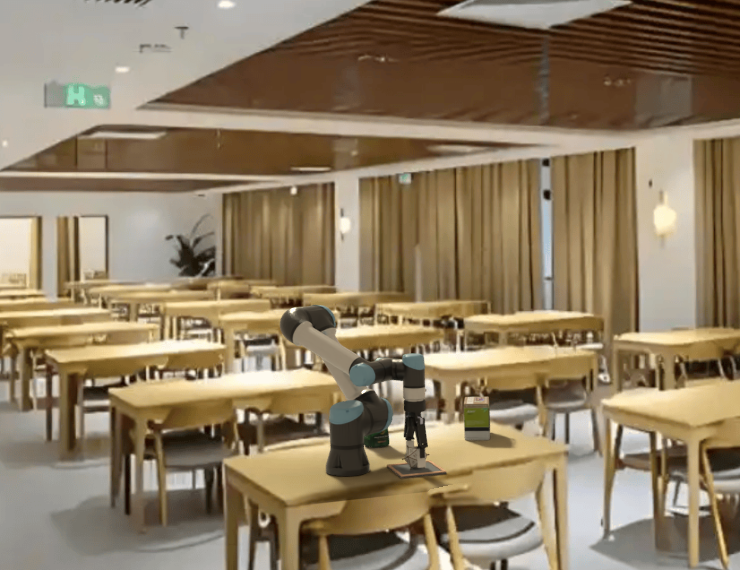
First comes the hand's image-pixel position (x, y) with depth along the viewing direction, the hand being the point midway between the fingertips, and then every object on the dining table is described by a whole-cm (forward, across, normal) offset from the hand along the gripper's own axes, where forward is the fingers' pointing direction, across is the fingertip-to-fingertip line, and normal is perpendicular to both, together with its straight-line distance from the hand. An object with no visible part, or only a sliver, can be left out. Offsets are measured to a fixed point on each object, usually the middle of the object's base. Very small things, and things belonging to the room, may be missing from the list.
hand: (415, 463), depth 312 cm
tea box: (+3, +41, -40) cm, 57 cm away
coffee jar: (+3, +40, +2) cm, 40 cm away
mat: (+2, 0, 0) cm, 2 cm away
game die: (+2, 0, 0) cm, 2 cm away
